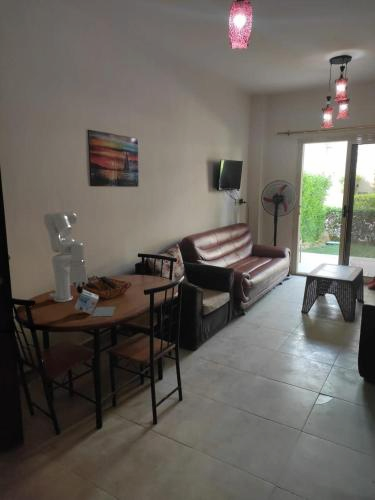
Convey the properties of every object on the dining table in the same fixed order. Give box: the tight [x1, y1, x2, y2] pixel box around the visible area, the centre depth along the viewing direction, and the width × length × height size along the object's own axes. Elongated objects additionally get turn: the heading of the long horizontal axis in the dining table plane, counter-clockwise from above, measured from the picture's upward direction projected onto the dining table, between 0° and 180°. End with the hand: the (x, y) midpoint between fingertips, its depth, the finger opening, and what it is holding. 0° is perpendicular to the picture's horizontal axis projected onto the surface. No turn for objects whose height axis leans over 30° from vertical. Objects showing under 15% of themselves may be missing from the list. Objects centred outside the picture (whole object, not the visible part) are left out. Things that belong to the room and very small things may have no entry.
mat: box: [91, 306, 116, 318], centre depth 220 cm, size 12×16×1 cm
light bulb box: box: [74, 289, 99, 315], centre depth 217 cm, size 11×7×11 cm, turn 105°
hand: (80, 292), depth 215 cm, fingers closed
